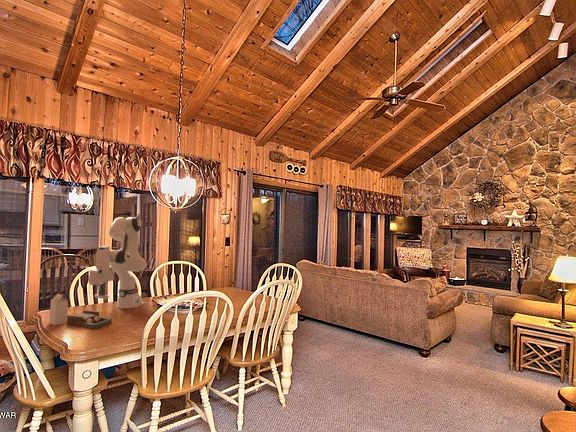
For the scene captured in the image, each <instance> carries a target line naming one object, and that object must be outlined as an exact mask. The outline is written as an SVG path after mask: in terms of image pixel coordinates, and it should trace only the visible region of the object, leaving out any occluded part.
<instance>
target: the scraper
mask: <svg viewBox="0 0 576 432" xmlns="http://www.w3.org/2000/svg"><path fill="white" fill-rule="evenodd" d="M100 287H101V290H98V289H97V291H98V292H97V293H96V294H94V298H95V299H96V298H97V299H105V300H107V299H109V298H110V297H109V294H106V288H105V283H100Z"/></svg>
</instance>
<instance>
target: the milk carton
mask: <svg viewBox="0 0 576 432" xmlns="http://www.w3.org/2000/svg"><path fill="white" fill-rule="evenodd" d="M68 302H69V301H68V299H67V298H64V297H63V295H62V294H59V293H56V295H55V297H53V298H52V299H51V300H50V308H49V309H50V310H49V325H52V326H58V325H59V326H60V325H64V324H67V315H68V306H69V305H68V304H69V303H68Z"/></svg>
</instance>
